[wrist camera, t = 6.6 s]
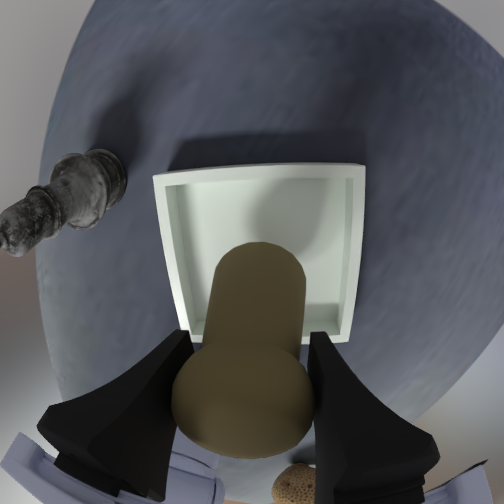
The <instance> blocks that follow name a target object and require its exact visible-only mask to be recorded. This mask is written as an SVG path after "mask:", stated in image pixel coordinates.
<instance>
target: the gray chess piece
mask: <svg viewBox="0 0 504 504" xmlns="http://www.w3.org/2000/svg"><path fill="white" fill-rule="evenodd" d="M125 187H126V176H125V172H124V168H123V166H122V164H121V162H120V161H119V159H118V158H117V157H116V156H115V155H114V154H113V153H111V152H110V151H108V150H105V149H94V150H91V151H88V152H87V153H86V154H84V155H82V154H79V153H70V154H67V155H65V156H62V157H61V158H60V159H59V160H58V161H57V162H56V163H55V165H54V166H53V168H52V170H51V173H50V177H49V184H48V185H46V186H39V185H37V186H34V187H32V188H31V189H30V190H29V191H28V193H27V195H26V198H24V199H22V200H20V201H19V202H17V203H15V204H14V205H12V206H10V207H9V208H7V209H5V210H4V211H3V212H2V213H1V214H0V248H1V247H2V248H3V249H4V250H5V251H6V252H7V253H8V254H10V255H11V256H16V257H19V256H22V255H24V254H25V253H27V252H28V251H29V250H30V249H31V248H33V247H34V246H35V245H36V244H38V243H39V242H40V241H41V240H43V239H44V238H45V239H53V238H54V237H56V236H57V235H58V234H59V232H60V230H61V227H62V226H63V225H64V224H65V223H66V224H67V225H68V226H70V227H72V228H74V229H79V230H86V229H90V228H92V227H94V226H96V225H97V224H98V223H99V222H100V220H101V219H102V218H103V215H104V213H105V211H106V209H110V208H112V207H114V206H115V205H116V204H117V203H118V202H119V201H120V200H121V198H122V196H123V194H124V191H125Z"/></svg>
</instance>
